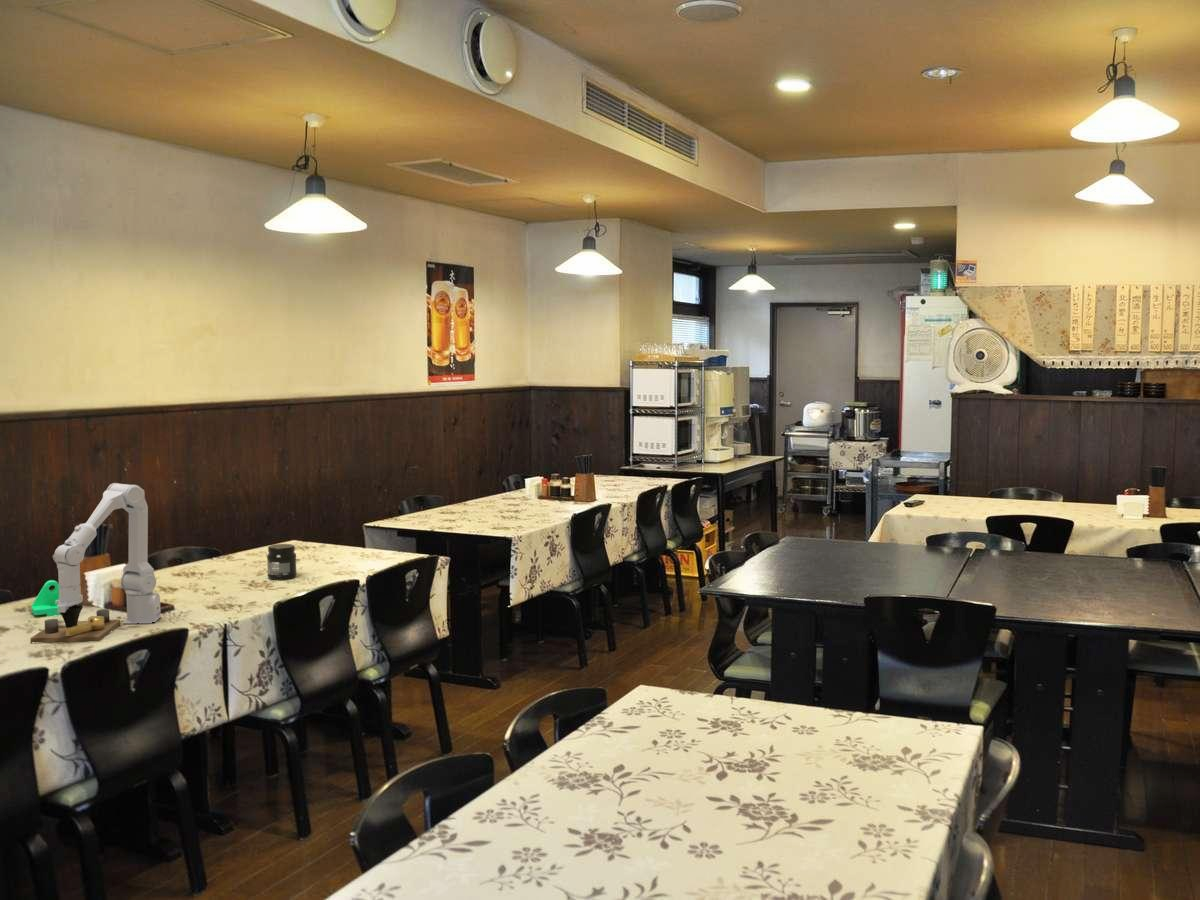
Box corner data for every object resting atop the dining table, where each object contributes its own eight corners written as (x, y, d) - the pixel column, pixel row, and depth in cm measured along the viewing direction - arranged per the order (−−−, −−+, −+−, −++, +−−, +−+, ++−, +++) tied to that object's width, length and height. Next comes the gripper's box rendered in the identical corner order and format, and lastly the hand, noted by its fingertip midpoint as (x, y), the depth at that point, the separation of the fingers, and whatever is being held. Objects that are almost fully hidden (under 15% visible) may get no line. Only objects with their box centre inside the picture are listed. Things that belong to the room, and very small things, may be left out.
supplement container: (293, 573, 411) (293, 542, 410) (299, 579, 402) (298, 547, 400) (265, 576, 406) (264, 544, 405) (270, 581, 397) (269, 549, 396)
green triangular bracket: (34, 618, 343) (33, 586, 342) (31, 613, 349) (30, 582, 348) (76, 613, 349) (74, 582, 348) (72, 608, 356) (71, 578, 355)
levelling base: (120, 624, 335) (119, 608, 335) (99, 641, 316) (98, 624, 316) (56, 626, 333) (55, 610, 333) (30, 643, 314) (29, 626, 313)
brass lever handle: (97, 625, 327) (97, 615, 327) (107, 627, 325) (107, 617, 325) (62, 635, 316) (61, 624, 316) (72, 637, 314) (72, 626, 314)
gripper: (64, 580, 324) (66, 624, 326) (45, 591, 310) (47, 637, 311) (89, 579, 325) (91, 624, 326) (71, 590, 311) (73, 637, 312)
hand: (71, 630), depth 319 cm, fingers closed
